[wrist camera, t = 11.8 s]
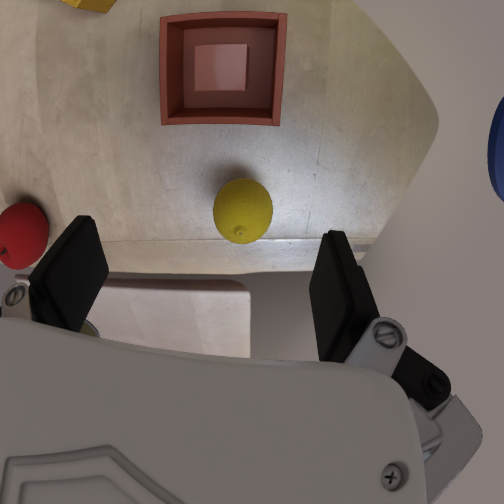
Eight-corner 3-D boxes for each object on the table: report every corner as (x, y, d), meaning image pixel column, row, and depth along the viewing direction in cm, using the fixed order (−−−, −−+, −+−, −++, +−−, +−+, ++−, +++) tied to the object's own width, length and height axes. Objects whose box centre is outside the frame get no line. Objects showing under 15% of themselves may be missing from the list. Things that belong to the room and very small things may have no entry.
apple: (50, 253, 35) (18, 298, 27) (13, 221, 31) (-23, 261, 24) (64, 216, 31) (24, 264, 23) (22, 180, 27) (-23, 219, 19)
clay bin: (281, 24, 18) (287, 13, 14) (275, 114, 24) (279, 126, 19) (179, 25, 18) (159, 17, 14) (179, 113, 24) (161, 125, 19)
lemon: (253, 221, 31) (250, 269, 25) (209, 198, 30) (195, 241, 23) (281, 184, 28) (288, 226, 22) (236, 156, 27) (227, 191, 20)
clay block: (249, 47, 19) (247, 43, 16) (247, 87, 22) (245, 91, 19) (204, 47, 19) (194, 44, 16) (203, 87, 22) (193, 91, 19)
